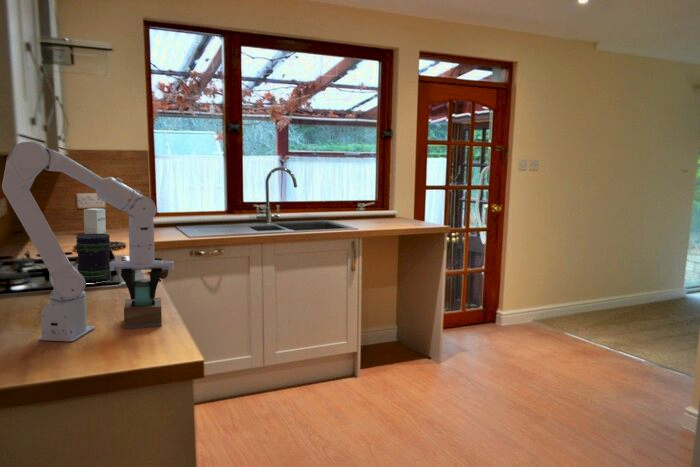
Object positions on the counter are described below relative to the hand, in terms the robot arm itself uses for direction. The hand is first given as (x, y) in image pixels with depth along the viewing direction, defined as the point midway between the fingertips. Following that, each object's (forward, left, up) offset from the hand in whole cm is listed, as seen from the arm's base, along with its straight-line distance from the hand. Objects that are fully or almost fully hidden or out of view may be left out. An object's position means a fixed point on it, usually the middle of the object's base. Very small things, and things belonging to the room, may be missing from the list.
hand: (143, 298), depth 127 cm
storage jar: (+38, +33, -6) cm, 51 cm away
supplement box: (+132, +84, -6) cm, 156 cm away
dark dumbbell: (+49, +17, -7) cm, 52 cm away
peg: (0, 0, -3) cm, 3 cm away
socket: (0, 0, -6) cm, 6 cm away
